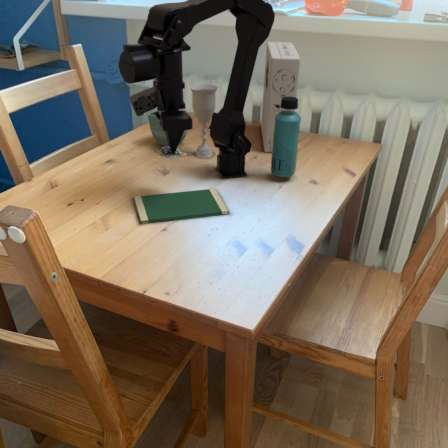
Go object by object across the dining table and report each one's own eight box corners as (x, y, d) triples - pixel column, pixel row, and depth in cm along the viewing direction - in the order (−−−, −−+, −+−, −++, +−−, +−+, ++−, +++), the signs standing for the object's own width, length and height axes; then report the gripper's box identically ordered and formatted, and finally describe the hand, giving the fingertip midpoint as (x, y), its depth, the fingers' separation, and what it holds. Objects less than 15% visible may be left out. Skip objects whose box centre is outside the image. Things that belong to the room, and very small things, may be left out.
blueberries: (166, 148, 115) (165, 139, 114) (194, 152, 112) (193, 143, 110) (148, 155, 110) (147, 147, 109) (176, 160, 107) (176, 151, 106)
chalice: (197, 160, 134) (196, 92, 123) (187, 152, 138) (185, 85, 127) (221, 156, 136) (222, 89, 125) (210, 148, 141) (210, 82, 130)
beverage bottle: (297, 174, 128) (306, 95, 115) (291, 184, 123) (300, 103, 110) (273, 170, 129) (280, 92, 117) (266, 180, 124) (273, 99, 112)
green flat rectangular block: (215, 191, 119) (215, 188, 118) (229, 214, 110) (229, 210, 109) (133, 199, 114) (133, 196, 114) (140, 224, 105) (140, 220, 104)
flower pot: (168, 136, 148) (167, 106, 143) (190, 143, 144) (190, 112, 139) (148, 144, 142) (146, 113, 137) (171, 151, 138) (170, 119, 133)
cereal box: (290, 153, 140) (301, 58, 124) (264, 152, 140) (271, 57, 124) (284, 128, 157) (292, 42, 141) (260, 127, 157) (266, 41, 141)
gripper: (125, 66, 106) (132, 137, 116) (135, 89, 92) (141, 167, 102) (175, 65, 109) (178, 134, 118) (192, 87, 94) (193, 163, 104)
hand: (172, 149), depth 110 cm, fingers closed on blueberries, 2 cm apart
